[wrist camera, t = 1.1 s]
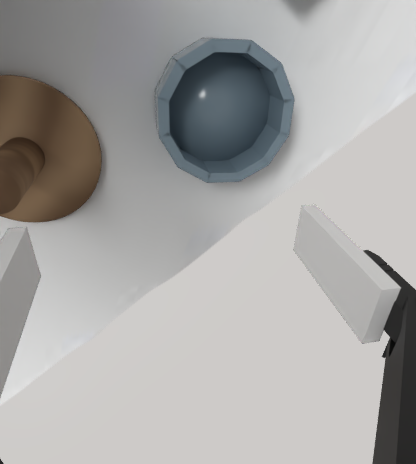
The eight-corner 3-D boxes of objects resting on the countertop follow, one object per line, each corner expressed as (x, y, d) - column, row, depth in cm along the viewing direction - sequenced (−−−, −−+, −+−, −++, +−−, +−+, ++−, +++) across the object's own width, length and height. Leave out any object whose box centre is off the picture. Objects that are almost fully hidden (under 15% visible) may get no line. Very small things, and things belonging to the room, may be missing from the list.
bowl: (133, 131, 36) (133, 144, 32) (196, 8, 32) (205, 4, 28) (232, 184, 42) (243, 201, 37) (297, 85, 37) (318, 91, 33)
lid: (-75, 181, 35) (-142, 229, 27) (-34, 40, 30) (-101, 42, 22) (70, 236, 41) (53, 290, 33) (125, 125, 36) (122, 155, 28)
